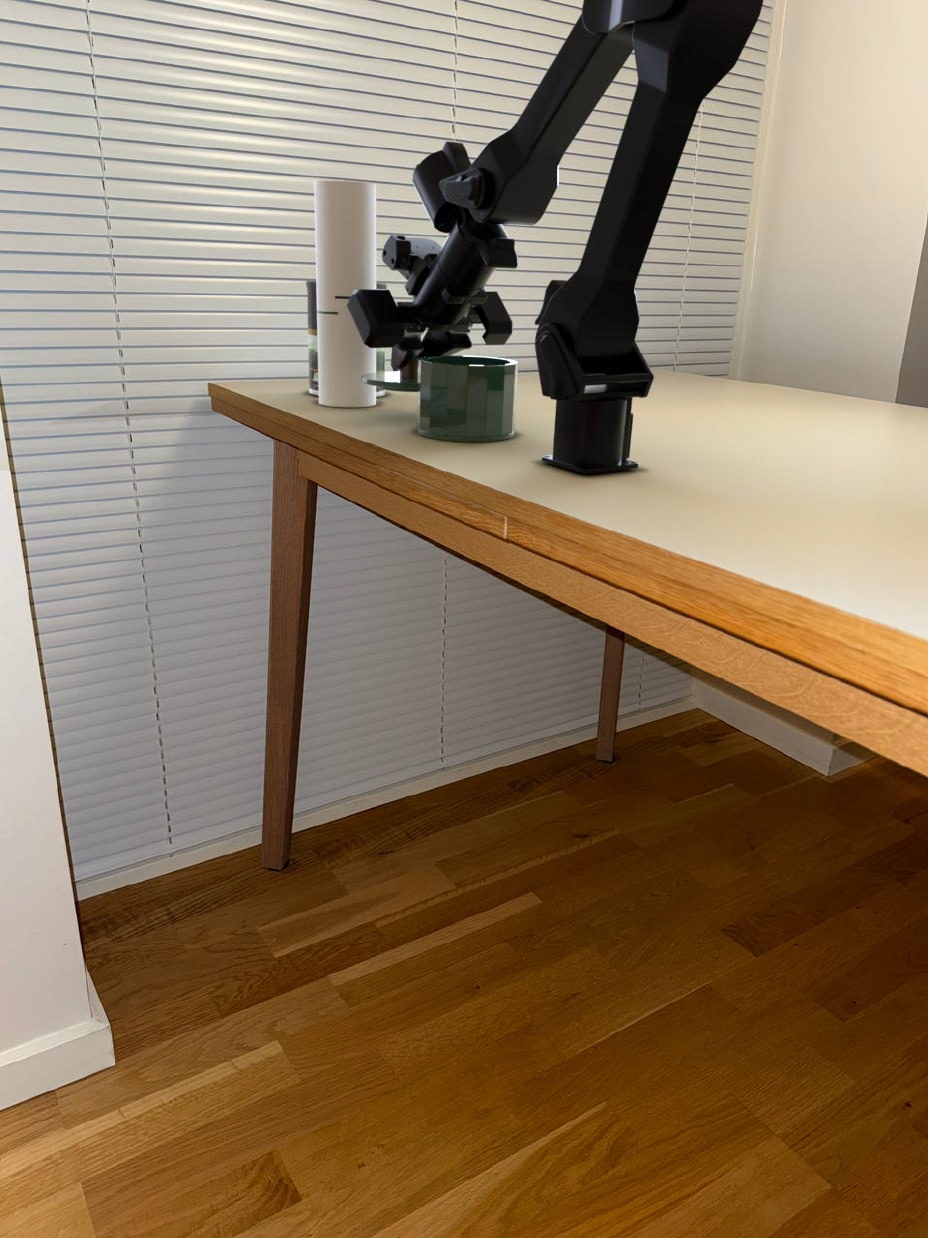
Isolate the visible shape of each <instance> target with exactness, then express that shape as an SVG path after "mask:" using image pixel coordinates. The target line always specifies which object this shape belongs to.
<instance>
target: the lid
mask: <svg viewBox="0 0 928 1238" xmlns="http://www.w3.org/2000/svg"><path fill="white" fill-rule="evenodd" d="M419 339H420V341H422V336H421V337H420V338H419ZM420 358H421V352H420V353H419V354H418V355H417V356H415V357H414V358H413V359H412V360H411V361H410V362H409V363H407V364H406V365H405V366H404V367H403V368H401V369H400V370H399V371H397V372H394V371H385V372H376V373H368V374H364V375H362V376H361V382H362V383H365V384H368V385H373V386H377V388H379V389H383V390H385V391H390V392H401V393H402V392H404V393H418V359H420Z"/></svg>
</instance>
